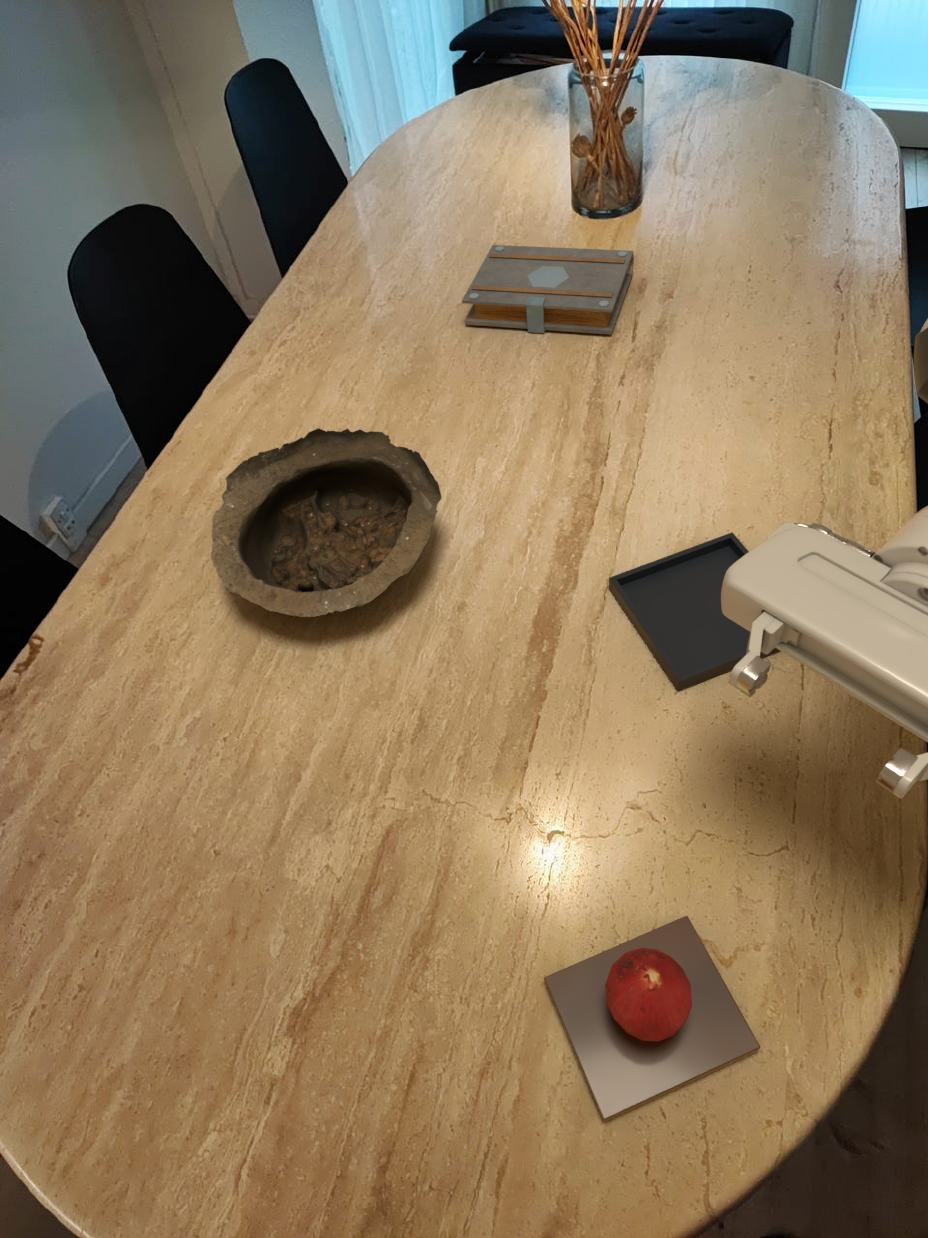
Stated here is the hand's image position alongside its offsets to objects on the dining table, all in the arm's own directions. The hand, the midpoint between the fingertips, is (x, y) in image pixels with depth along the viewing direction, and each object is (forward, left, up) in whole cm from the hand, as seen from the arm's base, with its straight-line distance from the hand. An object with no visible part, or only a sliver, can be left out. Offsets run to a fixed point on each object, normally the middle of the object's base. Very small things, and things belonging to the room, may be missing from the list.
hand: (811, 732), depth 47 cm
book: (+86, -22, -25) cm, 93 cm away
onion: (-4, +11, -24) cm, 27 cm away
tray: (+26, -12, -25) cm, 38 cm away
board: (-5, +11, -25) cm, 28 cm away
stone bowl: (+50, +20, -25) cm, 60 cm away
